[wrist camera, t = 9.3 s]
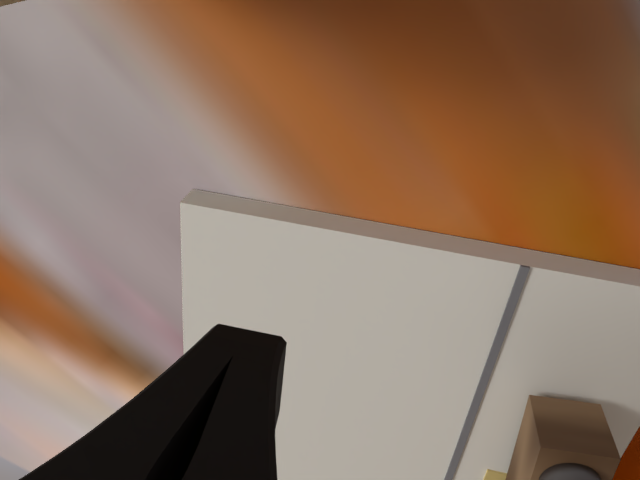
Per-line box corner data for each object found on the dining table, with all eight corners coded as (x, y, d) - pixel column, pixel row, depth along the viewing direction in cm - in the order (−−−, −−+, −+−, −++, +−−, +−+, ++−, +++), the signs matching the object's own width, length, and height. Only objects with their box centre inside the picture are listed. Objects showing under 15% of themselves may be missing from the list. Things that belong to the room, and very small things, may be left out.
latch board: (698, 279, 18) (715, 302, 17) (534, 570, 27) (539, 597, 26) (192, 188, 20) (178, 203, 19) (195, 490, 29) (186, 512, 28)
